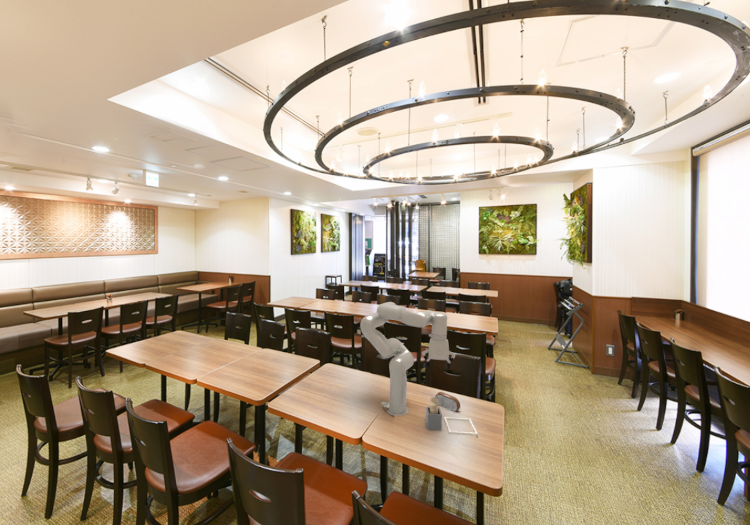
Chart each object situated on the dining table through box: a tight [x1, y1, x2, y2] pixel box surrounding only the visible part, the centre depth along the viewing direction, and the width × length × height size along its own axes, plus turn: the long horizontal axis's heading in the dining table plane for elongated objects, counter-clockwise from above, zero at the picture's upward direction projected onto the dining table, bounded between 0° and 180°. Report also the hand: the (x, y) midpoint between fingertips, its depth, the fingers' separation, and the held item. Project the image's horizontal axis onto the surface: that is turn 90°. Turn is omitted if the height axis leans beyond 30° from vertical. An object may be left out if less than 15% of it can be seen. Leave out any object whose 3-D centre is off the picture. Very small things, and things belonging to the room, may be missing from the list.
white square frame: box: [443, 416, 479, 438], centre depth 148 cm, size 14×13×2 cm
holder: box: [425, 406, 443, 432], centre depth 148 cm, size 7×7×9 cm
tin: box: [434, 391, 461, 413], centre depth 166 cm, size 15×3×8 cm, turn 49°
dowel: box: [429, 397, 439, 414], centre depth 147 cm, size 4×4×14 cm
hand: (437, 369), depth 149 cm, fingers open, 9 cm apart
